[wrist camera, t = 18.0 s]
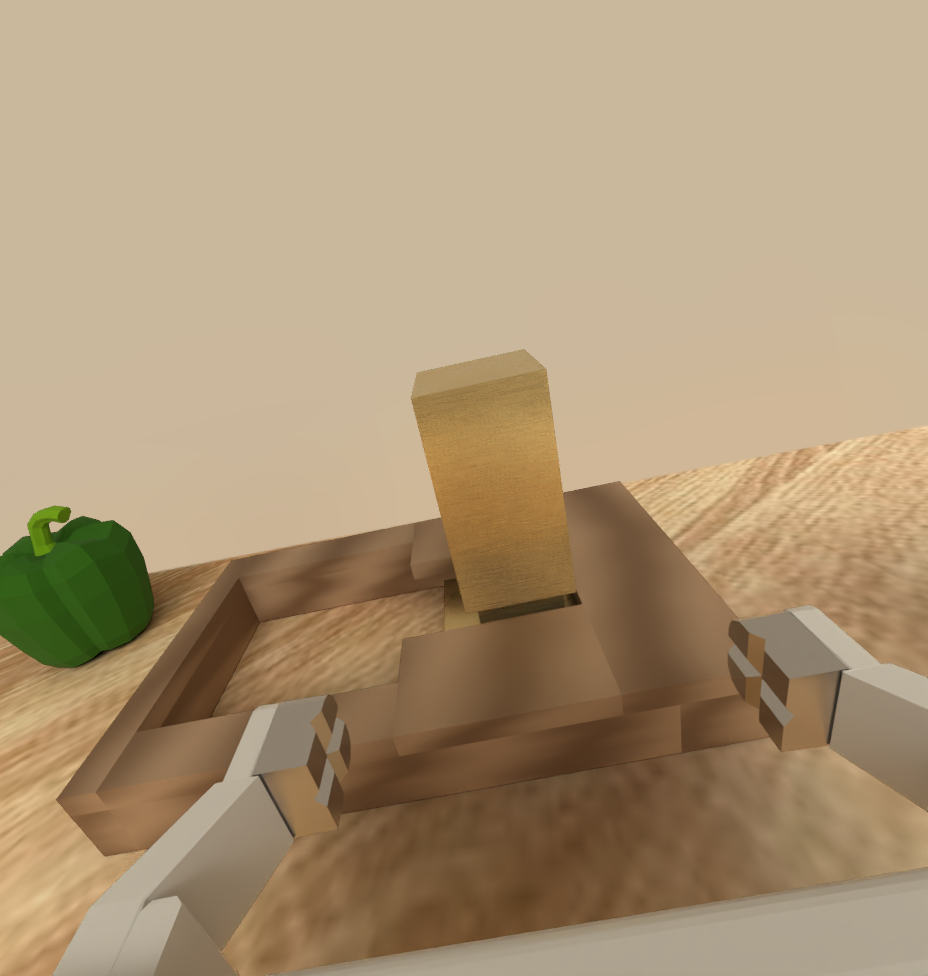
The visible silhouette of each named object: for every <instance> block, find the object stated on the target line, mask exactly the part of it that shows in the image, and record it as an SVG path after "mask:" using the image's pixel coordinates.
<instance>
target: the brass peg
mask: <svg viewBox="0 0 928 976" xmlns="http://www.w3.org/2000/svg"><path fill="white" fill-rule="evenodd" d="M411 400H412V404H413V408H414V412H415V416H416V420H417V424H418V428H419V432H420V436H421V440H422V443H423V448H424V451H425V455H426V459H427V463H428V467H429V471H430V475H431V479H432V483H433V487H434V490H435V494H436V499H437V502H438V506H439V510H440V514H441V518H442V522H443V526H444V530H445V534H446V538H447V542H448V546H449V550H450V554H451V557H452V561H453V565H454V569H455V573H456V577H457V578H453V579H448V580H444V627H445V631H447V630H452V629H457V628H462V627H467V626H472V625H478V624H483V623H488V622H493V621H498V620H503V619H508V618H514V617H519V616H524V615H529V614H534V613H539V612H544V611H550V610H555V609H560V608H565V607H570V606H575V605H578V604H577V602H576V600H575V597H574V595H573V593H576V587H575V579H574V572H573V565H572V557H571V550H570V542H569V535H568V527H567V520H566V512H565V505H564V498H563V490H562V483H561V476H560V468H559V460H558V453H557V446H556V438H555V431H554V423H553V416H552V408H551V401H550V393H549V386H548V379H547V371H546V368H545V367H544V366H542V365H541V364H540V363H539V362H538V361H537V360H536V359H535V358H533V357H532V356H531V355H530V354H529V353H528V352H526V350H525V349H523V350H518V351H514V352H509V353H505V354H500V355H495V356H491V357H486V358H482V359H477V360H473V361H468V362H464V363H459V364H454V365H450V366H445V367H441V368H436V369H431V370H427V371H422V372H418V373H417V375H416V379H415V383H414V388H413V392H412V396H411Z"/></svg>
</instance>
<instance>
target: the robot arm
mask: <svg viewBox="0 0 928 976" xmlns="http://www.w3.org/2000/svg"><path fill="white" fill-rule="evenodd" d="M728 636H729V637H730V638H731V640H732V641H733V642H734V643H735V644H734V645H733V647H732V648H731V649H730V650H729V652H728V668H729V672H730V676H731V679H732V681H733V683H734V685H735V687H736V689H737V691H738V693H739V694H740V695H741V697H742V698H743V700H744V701H745V702H747V703H748V704H750V705H752V706H754V707H756V708H758V709H759V722H760V724H761V725H762V726H763V728H764V729H765V731H766V732H767V733H768V735H769V736H770V737H771V739H772V740H773V742H774V743H775V744H776V746H777V747H778V749H779V750H780V751H781V752H786V751H793V750H800V749H807V748H814V747H821V746H828V745H830V746H829V748H830V749H832V750H833V751H835V752H836V753H838V754H839V755H841V756H843V757H844V758H846V759H847V760H849V761H850V762H852V763H853V764H855V765H856V766H858V767H859V768H861V769H863V770H864V771H866V772H867V773H869V774H870V775H872V776H873V777H875V778H876V779H878V780H879V781H881V782H882V783H884V784H886V785H887V786H889V787H890V788H892V789H893V790H895V791H896V792H898V793H899V794H901V795H902V796H904V797H906V798H907V799H909V800H910V801H912V802H913V803H915V804H916V805H918V806H919V807H921V808H922V809H924V810H925V811H927V812H928V677H925V676H922V675H920V674H917V673H915V672H912V671H910V670H907V669H905V668H902V667H899V666H897V665H894V664H892V663H886V664H881V663H880V662H878V661H877V660H876V659H875V658H874V657H873V656H872V655H870V654H869V653H868V652H867V651H866V650H865V649H864V648H862V647H861V646H860V645H859V644H858V643H857V642H856V641H854V640H853V639H852V638H851V637H850V636H849V635H848V634H846V633H845V632H844V631H843V630H842V629H841V628H840V627H838V626H837V625H836V624H835V623H834V622H833V621H832V620H830V619H829V618H828V617H827V616H826V615H825V614H824V613H822V612H821V611H820V610H819V609H818V608H816V607H814V606H811V605H806V606H801V607H795V608H790V609H785V610H783V611H775V612H770V613H765V614H760V615H755V616H750V617H744V618H739V619H734V620H732V621H731V623H730V625H729V633H728ZM337 711H338V705H337V703H336V701H335V699H334V697H333V695H322V696H316V697H309V698H303V699H297V700H290V701H284V702H281V703H275V704H268V705H262V706H258V707H257V708H256V709H255V710H254V711H253V713H252V715H251V717H250V719H249V722H248V724H247V726H246V729H245V731H244V733H243V736H242V738H241V740H240V743H239V745H238V747H237V750H236V752H235V754H234V757H233V759H232V761H231V764H230V766H229V768H228V771H227V773H226V775H225V778H224V780H223V782H220V783H215V784H214V785H213V786H212V787H211V788H210V789H209V790H208V791H207V792H206V793H205V794H204V795H203V796H202V797H201V798H200V799H199V800H198V801H197V802H196V803H195V804H194V805H193V806H192V807H191V808H190V809H189V810H188V811H187V812H186V813H185V814H184V815H183V816H182V817H181V818H180V819H179V820H178V821H177V822H176V823H175V824H174V825H173V826H172V827H171V828H170V829H169V830H168V831H167V832H166V833H165V834H164V835H163V836H162V837H161V838H160V839H159V840H158V841H157V842H156V843H155V844H154V845H153V846H152V847H150V848H149V849H148V850H147V851H146V852H145V853H144V854H143V855H142V856H141V857H140V858H139V859H138V860H137V861H136V862H135V863H134V864H133V865H132V866H131V867H130V868H129V869H128V870H127V871H126V872H125V873H124V874H123V875H122V876H121V877H120V878H119V879H118V880H117V881H116V882H115V883H114V884H113V885H112V886H111V887H110V888H109V889H108V890H107V891H106V892H105V893H104V894H103V895H102V896H101V897H100V898H99V899H98V900H97V901H96V902H95V903H94V904H93V905H92V906H91V907H90V908H89V910H88V912H87V913H86V915H85V917H84V919H83V921H82V923H81V924H80V926H79V928H78V930H77V932H76V933H75V935H74V937H73V939H72V941H71V942H70V944H69V946H68V948H67V950H66V951H65V953H64V955H63V957H62V959H61V960H60V962H59V964H58V966H57V968H56V970H55V971H54V973H53V975H52V976H239V974H238V971H237V970H236V969H235V968H234V966H233V965H232V964H231V963H230V961H229V960H228V959H227V958H226V956H225V955H224V954H223V953H222V950H223V948H224V947H225V945H226V944H227V942H228V941H229V939H230V938H231V936H232V935H233V933H234V932H235V930H236V929H237V927H238V926H239V924H240V923H241V921H242V920H243V918H244V917H245V915H246V914H247V912H248V911H249V909H250V908H251V906H252V905H253V903H254V902H255V900H256V899H257V897H258V896H259V894H260V893H261V891H262V890H263V888H264V886H265V885H266V883H267V882H268V880H269V879H270V877H271V876H272V874H273V873H274V871H275V870H276V868H277V867H278V865H279V864H280V862H281V861H282V859H283V858H284V856H285V855H286V853H287V852H288V850H289V849H290V847H291V846H292V844H293V843H294V838H297V837H302V836H307V835H312V834H317V833H321V832H326V831H331V830H336V829H338V826H339V820H340V815H341V810H342V804H343V799H344V792H343V790H342V787H341V785H340V782H341V781H342V779H343V778H344V777H345V776H346V774H347V773H348V772H349V765H350V759H351V742H350V737H349V732H348V729H347V727H346V724H345V722H344V721H342V720H340V719H339V718H337V717H336V715H337ZM264 976H928V867H925V868H919V869H913V870H907V871H901V872H894V873H888V874H882V875H876V876H870V877H864V878H858V879H852V880H846V881H840V882H833V883H827V884H821V885H815V886H809V887H803V888H796V889H790V890H784V891H778V892H772V893H766V894H760V895H753V896H747V897H741V898H735V899H729V900H723V901H716V902H710V903H704V904H698V905H692V906H686V907H679V908H673V909H667V910H661V911H655V912H649V913H643V914H636V915H630V916H624V917H618V918H612V919H606V920H600V921H594V922H588V923H581V924H575V925H569V926H563V927H557V928H551V929H545V930H539V931H533V932H527V933H521V934H514V935H508V936H502V937H496V938H490V939H484V940H478V941H472V942H466V943H460V944H453V945H447V946H441V947H435V948H429V949H423V950H417V951H411V952H405V953H398V954H392V955H386V956H380V957H374V958H368V959H362V960H356V961H350V962H343V963H337V964H331V965H325V966H319V967H313V968H307V969H301V970H295V971H288V972H282V973H276V974H270V975H264Z"/></svg>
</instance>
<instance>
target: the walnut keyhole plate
mask: <svg viewBox="0 0 928 976" xmlns="http://www.w3.org/2000/svg"><path fill="white" fill-rule="evenodd" d="M563 498H564V505H565V512H566V520H567V527H568V535H569V542H570V550H571V557H572V565H573V572H574V579H575V587H576V593H573V595H574V597H575V600H576V602H577V604H578V605H575V606H570V607H565V608H560V609H555V610H550V611H544V612H539V613H534V614H529V615H524V616H519V617H514V618H508V619H503V620H498V621H493V622H488V623H483V624H478V625H472V626H467V627H462V628H457V629H452V630H447V631H442V632H436V633H431V634H426V635H421V636H416V637H411V638H406V639H403V640H402V649H401V659H400V668H399V678H398V682H397V683H392V684H387V685H382V686H376V687H371V688H366V689H361V690H355V691H350V692H345V693H340V694H334V695H333V697H334V699H335V701H336V703H337V705H338V711H337V715H336V717H337V718H339V719H340V720H342V721H344V722H345V724H346V727H347V729H348V732H349V737H350V742H351V759H350V765H349V772H348V773H347V774H346V776H345V777H344V778H343V779H342V781H341V782H340V785H341V787H342V790H343V792H344V799H343V804H342V810H341V814H344V813H349V812H355V811H360V810H366V809H371V808H377V807H383V806H388V805H394V804H399V803H405V802H410V801H416V800H421V799H427V798H433V797H438V796H444V795H449V794H455V793H460V792H466V791H472V790H477V789H483V788H488V787H494V786H499V785H505V784H510V783H516V782H522V781H527V780H533V779H538V778H544V777H549V776H555V775H561V774H566V773H572V772H577V771H583V770H588V769H594V768H599V767H605V766H611V765H616V764H622V763H627V762H633V761H638V760H644V759H650V758H655V757H661V756H666V755H672V754H677V753H683V752H688V751H694V750H700V749H705V748H711V747H716V746H722V745H727V744H733V743H739V742H744V741H750V740H755V739H761V738H766V737H770V736H769V735H768V733H767V732H766V731H765V729H764V728H763V726H762V725H761V724H760V722H759V709H758V708H756V707H754V706H752V705H750V704H748V703H747V702H745V701H744V700H743V698H742V697H741V695H740V694H739V693H738V691H737V689H736V687H735V685H734V683H733V681H732V679H731V676H730V672H729V668H728V652H729V650H730V649H731V648H732V647H733V645H734V644H735V643H734V642H733V641H732V640H731V638H730V637H729V636H728V633H729V625H730V623H731V621H732V620H734V619H739V618H738V617H737V616H736V615H735V613H734V612H733V611H732V610H731V609H730V608H729V606H728V605H727V604H726V603H725V602H724V601H723V600H722V598H721V597H720V596H719V595H718V594H717V593H716V591H715V590H714V589H713V588H712V587H711V586H710V585H709V583H708V582H707V581H706V580H705V579H704V578H703V576H702V575H701V574H700V573H699V572H698V571H697V570H696V568H695V567H694V566H693V565H692V564H691V563H690V562H689V560H688V559H687V558H686V557H685V556H684V555H683V553H682V552H681V551H680V550H679V549H678V548H677V547H676V545H675V544H674V543H673V542H672V541H671V540H670V538H669V537H668V536H667V535H666V534H665V533H664V532H663V530H662V529H661V528H660V527H659V526H658V525H657V523H656V522H655V521H654V520H653V519H652V518H651V517H650V515H649V514H648V513H647V512H646V511H645V510H644V509H643V507H642V506H641V505H640V504H639V503H638V502H637V500H636V499H635V498H634V497H633V496H632V495H631V494H630V492H629V491H628V490H627V489H626V488H625V487H624V485H623V484H622V483H621V482H620V481H619V482H613V483H608V484H603V485H599V486H593V487H589V488H584V489H579V490H574V491H569V492H564V493H563ZM453 578H457V577H456V573H455V569H454V565H453V561H452V557H451V554H450V550H449V546H448V542H447V538H446V534H445V530H444V526H443V522H442V518H437V519H432V520H427V521H422V522H417V523H412V524H408V525H403V526H398V527H393V528H388V529H383V530H378V531H373V532H368V533H364V534H359V535H354V536H349V537H344V538H339V539H334V540H329V541H324V542H320V543H315V544H310V545H305V546H300V547H295V548H290V549H285V550H280V551H276V552H271V553H266V554H261V555H256V556H251V557H246V558H241V559H236V560H231V562H230V563H229V564H228V566H227V567H226V568H225V570H224V571H223V573H222V574H221V575H220V577H219V578H218V579H217V581H216V582H215V583H214V585H213V586H212V588H211V589H210V590H209V592H208V593H207V594H206V596H205V597H204V598H203V600H202V601H201V603H200V604H199V605H198V607H197V608H196V609H195V611H194V612H193V613H192V615H191V616H190V618H189V619H188V620H187V622H186V623H185V624H184V626H183V627H182V628H181V630H180V631H179V633H178V634H177V635H176V637H175V638H174V639H173V641H172V642H171V644H170V645H169V646H168V648H167V649H166V650H165V652H164V653H163V654H162V656H161V657H160V659H159V660H158V661H157V663H156V664H155V665H154V667H153V668H152V669H151V671H150V672H149V674H148V675H147V676H146V678H145V679H144V680H143V682H142V683H141V684H140V686H139V687H138V689H137V690H136V691H135V693H134V694H133V695H132V697H131V698H130V699H129V701H128V702H127V704H126V705H125V706H124V708H123V709H122V710H121V712H120V713H119V715H118V716H117V717H116V719H115V720H114V721H113V723H112V724H111V725H110V727H109V728H108V730H107V731H106V732H105V734H104V735H103V736H102V738H101V739H100V740H99V742H98V743H97V745H96V746H95V747H94V749H93V750H92V751H91V753H90V754H89V755H88V757H87V758H86V760H85V761H84V762H83V764H82V765H81V766H80V768H79V769H78V770H77V772H76V773H75V775H74V776H73V777H72V779H71V780H70V781H69V783H68V784H67V786H66V787H65V788H64V790H63V791H62V792H61V794H60V795H59V796H58V798H57V799H56V800H57V802H58V803H59V804H60V805H61V806H62V807H63V809H64V810H65V811H66V812H67V813H68V814H69V816H70V817H71V818H72V819H73V820H74V821H75V823H76V824H77V825H78V826H79V827H80V828H81V830H82V831H83V832H84V833H85V834H86V835H87V837H88V838H89V839H90V840H91V841H92V842H93V844H94V845H95V846H96V847H97V848H98V849H99V851H100V852H101V853H102V854H103V855H104V856H110V855H116V854H121V853H127V852H132V851H138V850H143V849H149V848H150V847H152V846H153V845H154V844H155V843H156V842H157V841H158V840H159V839H160V838H161V837H162V836H163V835H164V834H165V833H166V832H167V831H168V830H169V829H170V828H171V827H172V826H173V825H174V824H175V823H176V822H177V821H178V820H179V819H180V818H181V817H182V816H183V815H184V814H185V813H186V812H187V811H188V810H189V809H190V808H191V807H192V806H193V805H194V804H195V803H196V802H197V801H198V800H199V799H200V798H201V797H202V796H203V795H204V794H205V793H206V792H207V791H208V790H209V789H210V788H211V787H212V786H213V785H214V784H215V783H220V782H223V780H224V778H225V775H226V773H227V771H228V768H229V766H230V764H231V761H232V759H233V757H234V754H235V752H236V750H237V747H238V745H239V743H240V740H241V738H242V736H243V733H244V731H245V729H246V726H247V724H248V722H249V719H250V717H251V715H252V713H253V711H254V710H250V711H245V712H240V713H235V714H229V715H224V716H219V717H214V718H210V717H211V715H212V713H213V711H214V709H215V707H216V705H217V703H218V701H219V699H220V697H221V696H222V694H223V692H224V690H225V688H226V686H227V684H228V682H229V680H230V678H231V676H232V674H233V672H234V671H235V669H236V667H237V665H238V663H239V661H240V659H241V657H242V655H243V653H244V651H245V649H246V647H247V646H248V644H249V642H250V640H251V638H252V636H253V634H254V632H255V630H256V628H257V626H258V624H259V623H260V622H263V621H268V620H273V619H278V618H283V617H288V616H293V615H298V614H303V613H308V612H313V611H318V610H323V609H328V608H333V607H338V606H344V605H349V604H354V603H359V602H364V601H369V600H374V599H379V598H384V597H389V596H394V595H399V594H404V593H409V592H414V591H419V590H424V589H429V588H434V587H439V586H444V580H448V579H453Z"/></svg>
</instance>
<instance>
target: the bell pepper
mask: <svg viewBox="0 0 928 976" xmlns="http://www.w3.org/2000/svg"><path fill="white" fill-rule="evenodd" d="M70 513H71V510H70V508H68V507H61V506H52V507H49V508H45V509H43V510H40V511H38V512H37V513H35V514H33V516H32V518H31V519H30V521H29V522H28V530H29V533H30V536H25V537H22V538H21V539H20V540H19V541H17V542H16V543H15V544H14V545H13V546H11V547H10V548H9V549H8V550H7V551H5V552H4V553H3V556H0V635H1V636H2V637H4V638H5V639H6V640H8V641H9V642H11V643H12V644H13V645H15V646H16V647H17V648H19V649H20V650H21V651H23V652H24V653H26V654H28V655H29V656H31V657H32V658H34V659H36V660H37V661H39V662H41V663H42V664H44V665H49V666H54V667H58V668H70V667H77V666H79V665H81V664H83V663H84V662H86V661H88V660H90V659H92V658H93V657H95V656H96V655H97V654H98V653H99V652H101V651H104V650H111V649H113V648H115V647H118V646H120V645H122V644H124V643H127V642H129V641H131V640H132V639H133V638H134V637H136V636H137V635H138V634H139V633H140V632H142V631H143V630H144V629H145V628H146V627H147V625H148V623H149V622H150V620H151V618H152V614H153V609H154V600H153V595H152V589H151V584H150V580H149V576H148V572H147V568H146V564H145V560H144V557H143V556H142V553H141V551H140V549H139V548H138V546H137V544H136V542H135V540H134V539H133V536H132V534H131V533H130V532H129V531H128V530H126V529H125V528H124V527H122V526H121V525H119V524H118V523H116V522H115V521H113V520H111V521H105V522H100V521H99V520H96V519H93V518H88V517H85V516H82V517H79V518H76V519H74V520H71V521H70V522H69V523H67V524H66V525H65V526H64V527H63V528H61V529H60V530H59V531H58V532H53V533H51V532H50V528H49V523H50V522H51V521H55V522H59V523H65V522H67V520H69V517H70Z"/></svg>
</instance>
